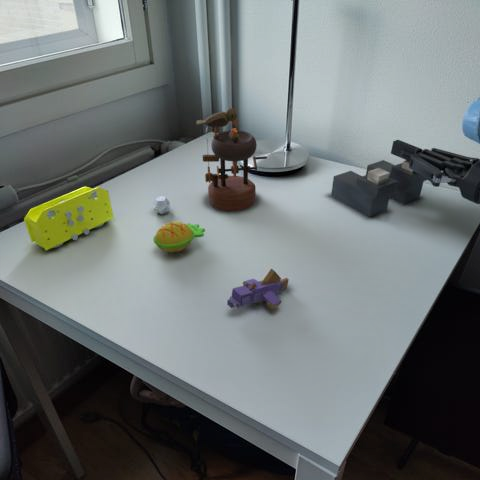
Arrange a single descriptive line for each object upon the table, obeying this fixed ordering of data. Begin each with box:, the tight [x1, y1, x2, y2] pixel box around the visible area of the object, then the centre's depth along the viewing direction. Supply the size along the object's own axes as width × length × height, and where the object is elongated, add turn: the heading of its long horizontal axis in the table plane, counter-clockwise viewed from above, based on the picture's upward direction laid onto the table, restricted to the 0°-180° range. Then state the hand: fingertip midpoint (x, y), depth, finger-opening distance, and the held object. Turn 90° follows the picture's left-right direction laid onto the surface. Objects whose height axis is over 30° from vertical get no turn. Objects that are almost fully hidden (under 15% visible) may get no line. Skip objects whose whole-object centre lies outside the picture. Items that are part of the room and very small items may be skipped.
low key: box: [402, 159, 415, 173], centre depth 99 cm, size 3×3×2 cm
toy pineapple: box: [152, 221, 206, 253], centre depth 87 cm, size 7×10×5 cm
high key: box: [367, 168, 390, 185], centre depth 94 cm, size 3×3×2 cm
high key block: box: [330, 170, 398, 218], centre depth 99 cm, size 13×6×7 cm, turn 34°
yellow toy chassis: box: [23, 186, 115, 251], centre depth 90 cm, size 16×6×8 cm, turn 140°
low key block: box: [365, 159, 428, 205], centre depth 104 cm, size 13×6×7 cm, turn 34°
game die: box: [152, 195, 171, 215], centre depth 99 cm, size 4×4×3 cm
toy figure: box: [227, 268, 290, 311], centre depth 75 cm, size 12×8×5 cm
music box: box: [195, 107, 268, 212], centre depth 98 cm, size 15×11×20 cm
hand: (394, 146), depth 101 cm, fingers closed
